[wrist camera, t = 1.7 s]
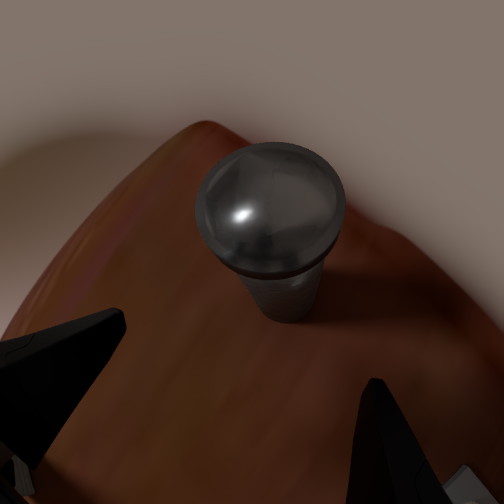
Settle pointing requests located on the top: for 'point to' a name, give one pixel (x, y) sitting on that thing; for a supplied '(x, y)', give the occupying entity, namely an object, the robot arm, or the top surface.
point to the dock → (467, 488)
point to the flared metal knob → (273, 222)
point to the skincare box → (22, 478)
